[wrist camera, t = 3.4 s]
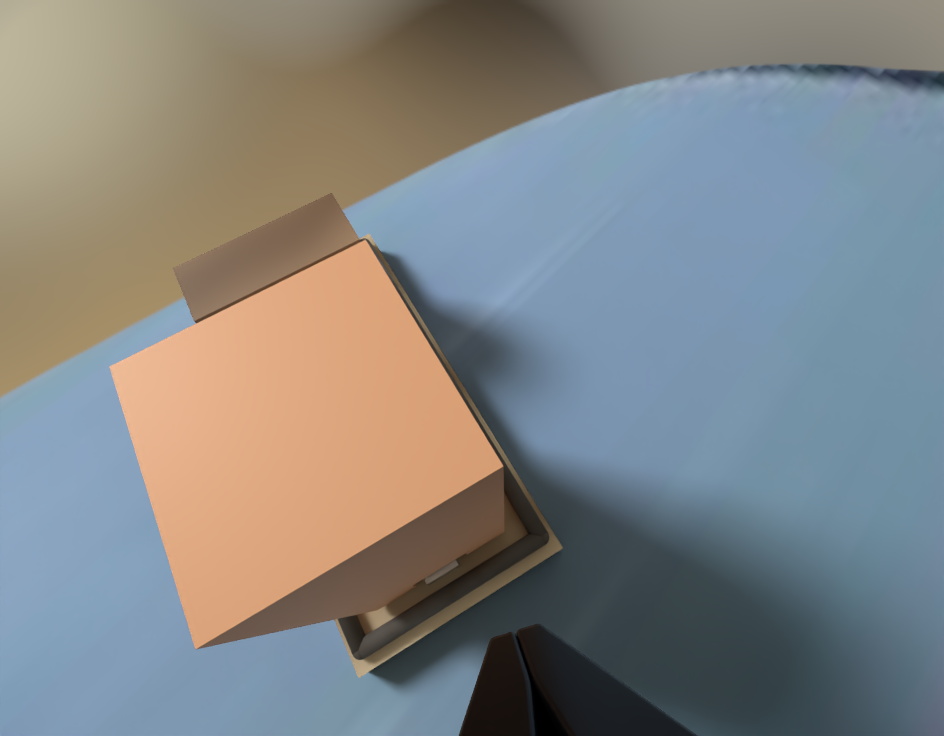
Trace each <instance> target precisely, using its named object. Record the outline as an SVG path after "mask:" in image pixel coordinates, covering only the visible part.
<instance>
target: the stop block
mask: <svg viewBox="0 0 944 736" xmlns="http://www.w3.org/2000/svg"><path fill="white" fill-rule="evenodd" d="M360 242H361V241H360V239H359V238H358V236H357V234H356V233H355V231H354V229H353V228H352V226H351V224H350V223H349V221H348V219H347V218H346V216H345V214H344V213H343V211H342V209H341V208H340V206H339V204H338V203H337V201H336V199H335V198H334V196H333V194H332V193H330V194H328V195H326V196H324V197H322V198H320V199H318V200H316V201H314V202H312V203H309V204H308V205H305V206H303V207H301V208H299V209H297V210H295V211H293V212H291V213H288V214H286V215H284V216H282V217H280V218H278V219H276V220H274V221H272V222H269V223H268V224H265V225H263V226H261V227H259V228H257V229H255V230H253V231H251V232H248V233H246V234H244V235H242V236H240V237H238V238H236V239H234V240H232V241H230V242H227V243H226V244H223V245H221V246H219V247H217V248H215V249H213V250H211V251H208V252H206V253H204V254H202V255H200V256H198V257H196V258H194V259H192V260H190V261H187V262H185V263H183V264H181V265H179V266H177V267H175V268H173V269H174V272H175V274H176V277H177V279H178V282H179V284H180V287H181V289H182V292H183V295H184V297H185V300H186V302H187V305H188V307H189V310H190V312H191V315H192V317H193V320H194V321H195V322H196V323H199V322H201V321H203V320H205V319H207V318H209V317H211V316H213V315H215V314H217V313H219V312H221V311H223V310H225V309H227V308H229V307H231V306H233V305H235V304H237V303H239V302H241V301H243V300H245V299H247V298H249V297H251V296H253V295H255V294H257V293H259V292H261V291H263V290H265V289H267V288H269V287H271V286H273V285H275V284H277V283H279V282H281V281H283V280H285V279H287V278H289V277H291V276H293V275H295V274H297V273H299V272H301V271H303V270H306V269H308V268H310V267H312V266H314V265H316V264H318V263H320V262H322V261H324V260H326V259H328V258H330V257H332V256H334V255H336V254H338V253H340V252H342V251H344V250H346V249H348V248H350V247H352V246H354V245H356V244H358V243H360Z"/></svg>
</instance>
